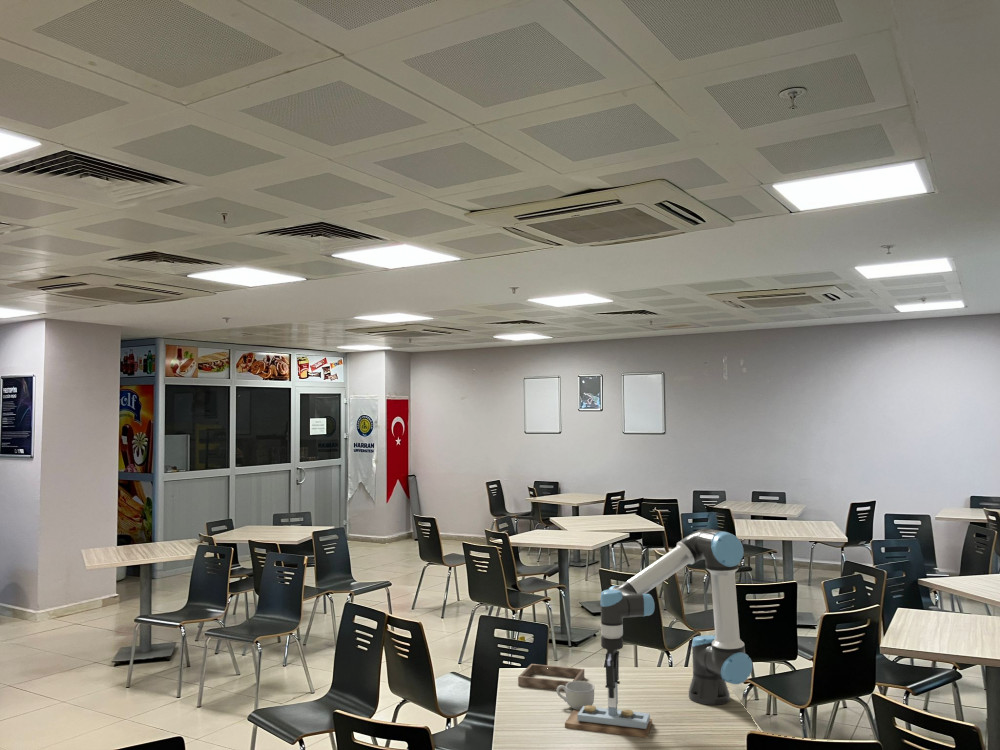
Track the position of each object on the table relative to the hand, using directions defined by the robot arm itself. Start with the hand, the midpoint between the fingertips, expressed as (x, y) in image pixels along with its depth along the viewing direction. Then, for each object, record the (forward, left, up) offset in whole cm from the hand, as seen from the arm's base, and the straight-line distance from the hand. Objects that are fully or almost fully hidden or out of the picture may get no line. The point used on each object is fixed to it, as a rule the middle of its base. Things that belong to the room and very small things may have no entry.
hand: (613, 705), depth 267 cm
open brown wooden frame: (+33, -39, -7) cm, 51 cm away
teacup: (+17, -14, -7) cm, 23 cm away
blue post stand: (-1, 0, -5) cm, 5 cm away
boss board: (+2, 0, -7) cm, 7 cm away
